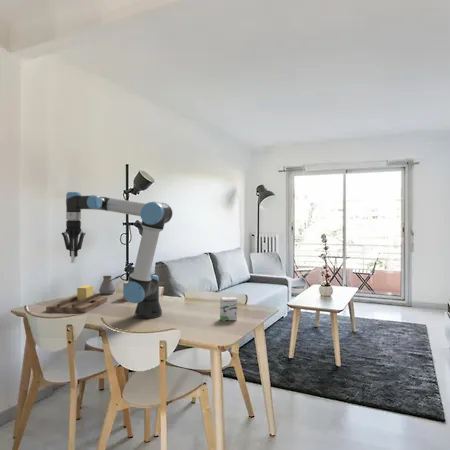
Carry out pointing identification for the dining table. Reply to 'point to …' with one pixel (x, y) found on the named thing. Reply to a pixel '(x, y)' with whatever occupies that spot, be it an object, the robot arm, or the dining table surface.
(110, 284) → the coffee pot
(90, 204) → the robot arm
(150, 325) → the dining table surface
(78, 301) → the trap board
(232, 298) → the ink box
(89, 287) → the ochre block
